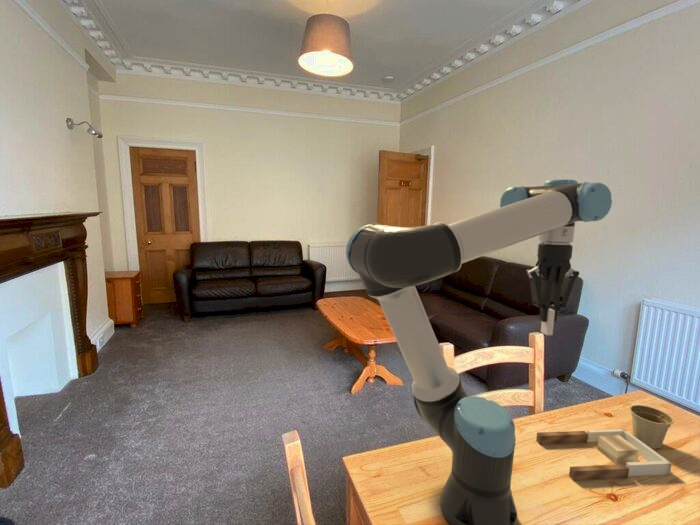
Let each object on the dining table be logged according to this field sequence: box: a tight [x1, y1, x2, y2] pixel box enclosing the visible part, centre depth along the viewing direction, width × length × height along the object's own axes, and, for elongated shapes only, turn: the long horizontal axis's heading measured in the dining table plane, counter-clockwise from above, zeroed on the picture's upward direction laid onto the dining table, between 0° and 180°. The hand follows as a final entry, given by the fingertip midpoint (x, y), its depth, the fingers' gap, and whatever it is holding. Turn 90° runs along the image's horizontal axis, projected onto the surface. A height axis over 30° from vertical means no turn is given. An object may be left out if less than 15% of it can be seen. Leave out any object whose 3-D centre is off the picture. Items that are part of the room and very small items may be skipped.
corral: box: [586, 428, 672, 477], centre depth 95 cm, size 11×14×3 cm
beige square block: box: [596, 435, 639, 465], centre depth 95 cm, size 6×6×4 cm
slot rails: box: [535, 430, 629, 482], centre depth 94 cm, size 14×15×2 cm
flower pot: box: [629, 404, 675, 450], centre depth 100 cm, size 9×9×9 cm
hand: (546, 333), depth 93 cm, fingers closed
